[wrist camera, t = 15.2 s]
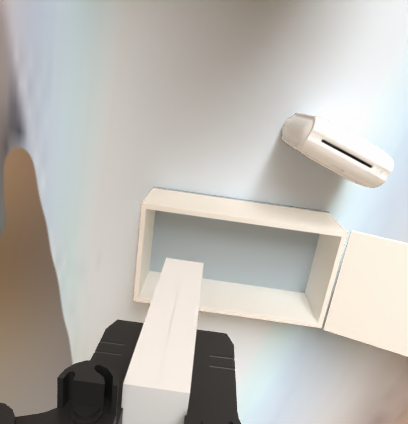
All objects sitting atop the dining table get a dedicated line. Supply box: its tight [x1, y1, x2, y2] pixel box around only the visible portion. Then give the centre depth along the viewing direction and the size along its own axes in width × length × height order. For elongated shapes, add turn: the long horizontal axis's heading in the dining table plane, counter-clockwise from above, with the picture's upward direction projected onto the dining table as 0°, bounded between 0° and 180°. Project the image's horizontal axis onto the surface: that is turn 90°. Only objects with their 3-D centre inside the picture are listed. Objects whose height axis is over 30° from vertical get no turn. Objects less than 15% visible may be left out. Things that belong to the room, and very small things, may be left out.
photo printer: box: [282, 113, 394, 188], centre depth 40 cm, size 10×4×12 cm, turn 63°
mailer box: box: [133, 187, 348, 328], centre depth 47 cm, size 13×24×8 cm, turn 82°
